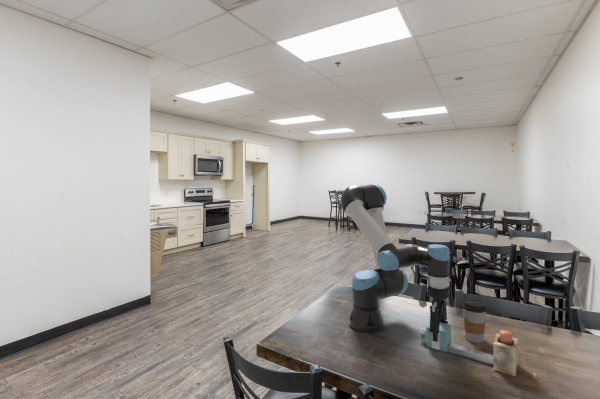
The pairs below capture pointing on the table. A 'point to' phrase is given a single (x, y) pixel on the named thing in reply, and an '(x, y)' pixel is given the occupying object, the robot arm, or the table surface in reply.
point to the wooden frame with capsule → (505, 356)
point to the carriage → (444, 336)
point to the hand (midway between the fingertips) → (438, 343)
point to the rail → (464, 351)
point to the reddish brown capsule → (505, 336)
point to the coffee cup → (474, 320)
